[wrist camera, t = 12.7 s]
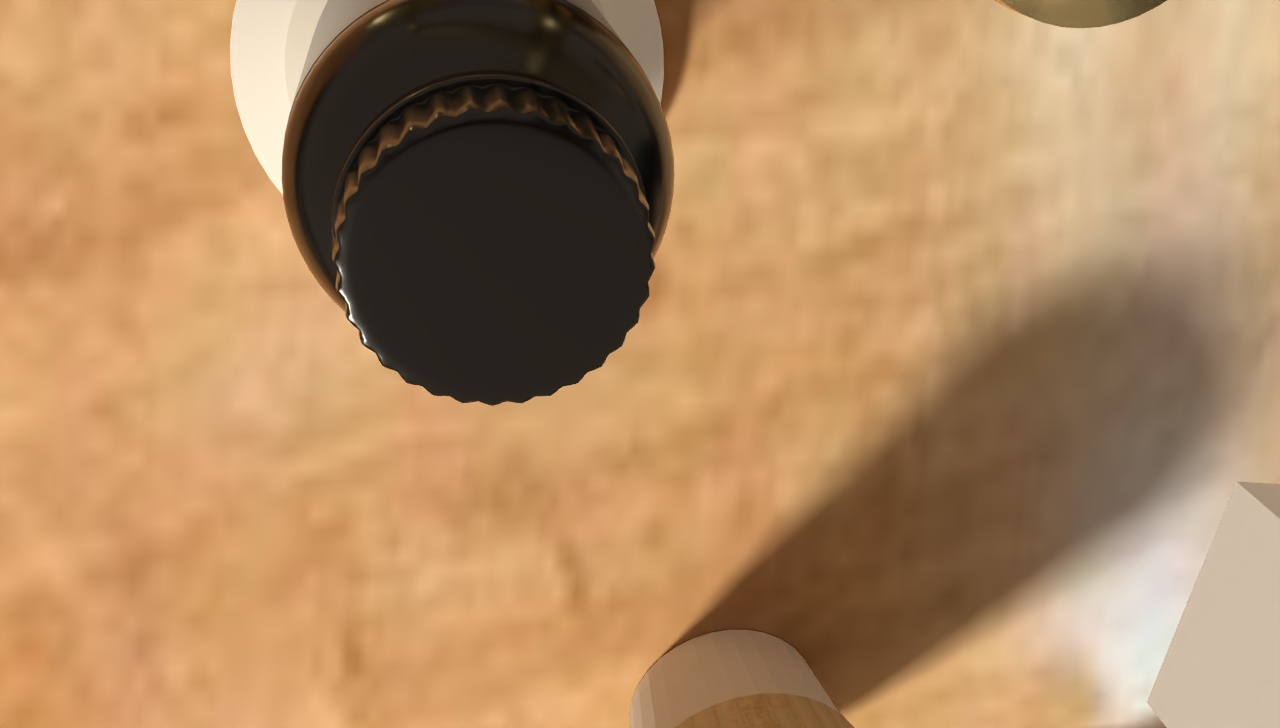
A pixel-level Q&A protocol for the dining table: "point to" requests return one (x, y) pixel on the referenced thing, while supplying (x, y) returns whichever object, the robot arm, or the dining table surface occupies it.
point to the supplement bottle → (478, 187)
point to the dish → (279, 43)
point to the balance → (1081, 11)
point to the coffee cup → (733, 686)
